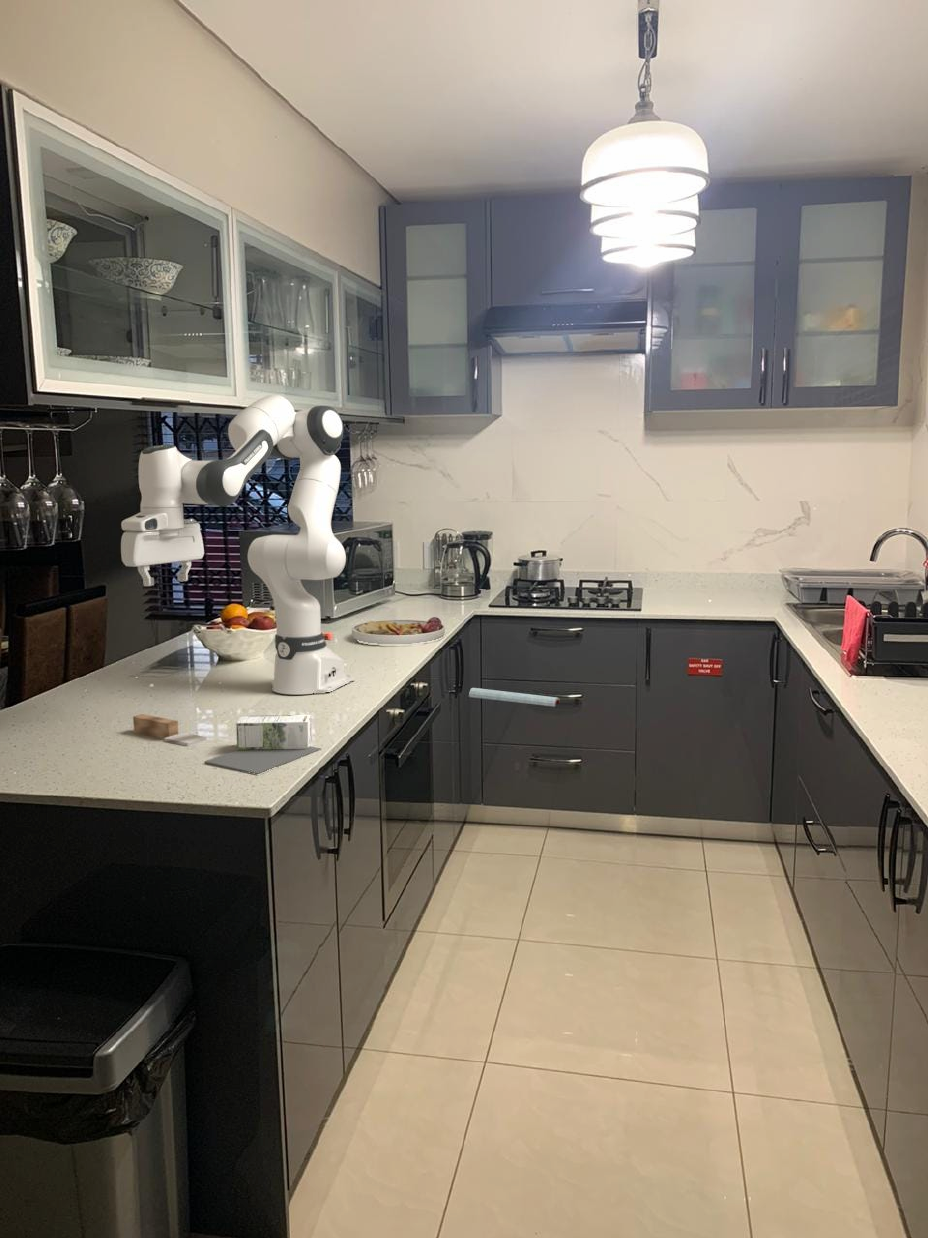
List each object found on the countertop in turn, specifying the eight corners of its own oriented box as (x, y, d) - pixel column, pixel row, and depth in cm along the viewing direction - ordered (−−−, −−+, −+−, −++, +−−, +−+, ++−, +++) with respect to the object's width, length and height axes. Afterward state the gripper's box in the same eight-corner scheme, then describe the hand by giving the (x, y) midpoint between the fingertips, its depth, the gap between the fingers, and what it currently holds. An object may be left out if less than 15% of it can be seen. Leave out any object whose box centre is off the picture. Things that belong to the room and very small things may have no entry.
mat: (269, 741, 199) (269, 738, 199) (321, 751, 191) (321, 748, 191) (204, 764, 184) (204, 761, 183) (258, 776, 176) (258, 773, 176)
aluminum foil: (560, 710, 224) (560, 696, 223) (549, 717, 218) (549, 702, 217) (474, 699, 234) (474, 686, 234) (461, 706, 228) (461, 692, 228)
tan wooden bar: (129, 734, 205) (128, 718, 204) (148, 728, 209) (147, 712, 208) (188, 746, 195) (187, 729, 195) (206, 740, 199) (205, 724, 199)
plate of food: (358, 653, 290) (358, 628, 289) (346, 636, 319) (345, 613, 318) (454, 648, 298) (454, 623, 296) (434, 632, 326) (433, 609, 325)
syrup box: (241, 742, 196) (312, 740, 197) (236, 750, 190) (309, 749, 191) (240, 715, 195) (311, 714, 196) (235, 723, 189) (308, 721, 190)
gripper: (189, 517, 218) (192, 577, 220) (114, 522, 201) (118, 587, 203) (208, 518, 215) (211, 579, 217) (134, 523, 198) (138, 589, 200)
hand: (166, 583), depth 210 cm, fingers open, 8 cm apart
